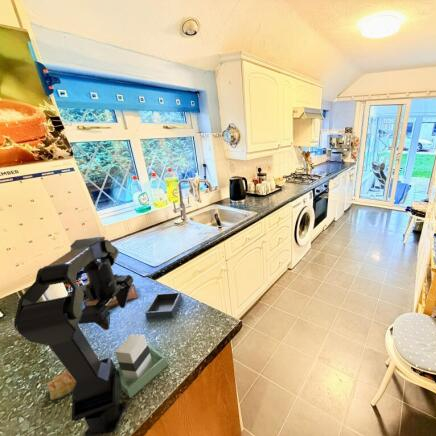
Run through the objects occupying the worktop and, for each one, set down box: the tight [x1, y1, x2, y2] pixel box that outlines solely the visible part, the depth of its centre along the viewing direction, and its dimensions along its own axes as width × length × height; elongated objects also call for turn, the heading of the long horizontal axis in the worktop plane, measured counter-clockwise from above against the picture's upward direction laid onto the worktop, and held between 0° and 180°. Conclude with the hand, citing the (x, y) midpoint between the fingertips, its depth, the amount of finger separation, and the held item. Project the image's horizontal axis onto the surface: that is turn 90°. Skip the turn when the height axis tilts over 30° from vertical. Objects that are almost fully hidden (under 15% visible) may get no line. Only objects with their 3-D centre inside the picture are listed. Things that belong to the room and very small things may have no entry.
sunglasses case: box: [83, 283, 139, 310], centre depth 99 cm, size 18×7×7 cm, turn 133°
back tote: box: [144, 291, 183, 320], centre depth 96 cm, size 11×10×4 cm
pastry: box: [46, 370, 76, 401], centre depth 68 cm, size 9×7×4 cm
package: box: [114, 333, 153, 382], centre depth 69 cm, size 6×5×12 cm
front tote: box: [115, 343, 168, 399], centre depth 71 cm, size 11×10×4 cm
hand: (115, 317), depth 75 cm, fingers open, 9 cm apart
